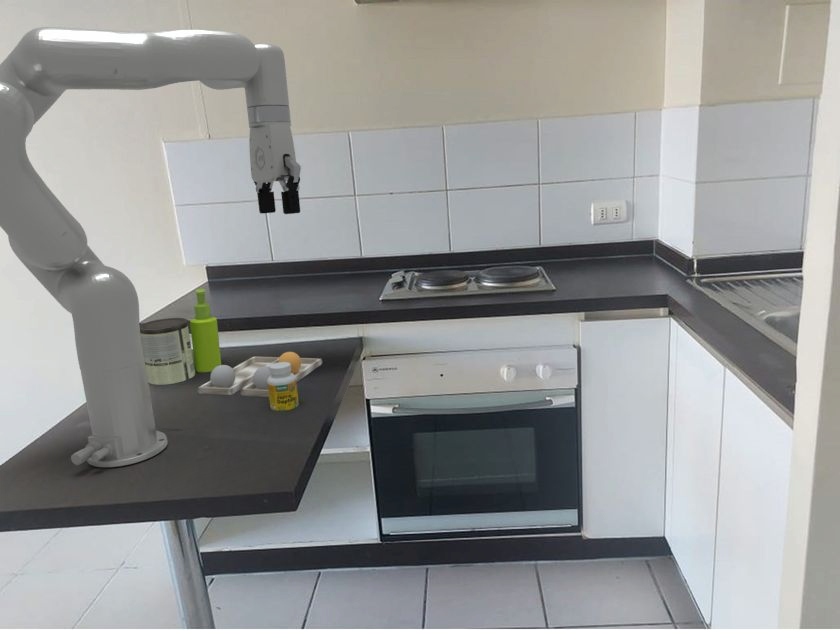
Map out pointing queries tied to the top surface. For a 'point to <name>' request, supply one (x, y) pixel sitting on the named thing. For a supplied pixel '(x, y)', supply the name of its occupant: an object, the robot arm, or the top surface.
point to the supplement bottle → (282, 387)
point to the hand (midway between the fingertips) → (279, 213)
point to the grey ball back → (222, 376)
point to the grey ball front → (261, 377)
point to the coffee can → (167, 351)
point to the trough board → (247, 371)
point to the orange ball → (291, 360)
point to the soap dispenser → (204, 336)
